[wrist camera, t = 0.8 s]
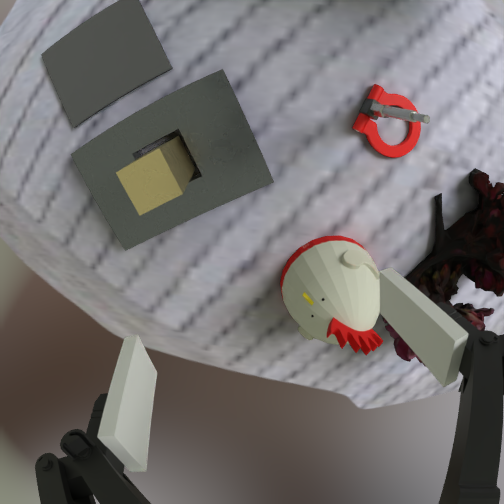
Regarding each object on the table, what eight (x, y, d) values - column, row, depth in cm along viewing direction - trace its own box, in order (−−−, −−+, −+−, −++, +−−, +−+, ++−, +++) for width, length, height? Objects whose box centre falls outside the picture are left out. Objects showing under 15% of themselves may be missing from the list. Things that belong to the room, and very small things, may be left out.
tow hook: (424, 115, 35) (374, 77, 32) (491, 132, 24) (437, 77, 21) (399, 166, 38) (346, 133, 35) (459, 198, 27) (401, 153, 24)
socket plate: (223, 71, 31) (222, 69, 29) (271, 177, 37) (274, 182, 35) (79, 151, 34) (70, 154, 31) (130, 242, 40) (125, 250, 37)
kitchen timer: (309, 219, 40) (348, 280, 27) (387, 255, 44) (440, 316, 30) (264, 303, 46) (277, 382, 32) (340, 326, 49) (371, 397, 35)
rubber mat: (135, -7, 25) (134, -8, 25) (172, 68, 31) (171, 68, 30) (43, 54, 27) (41, 54, 26) (75, 127, 32) (73, 127, 32)
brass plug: (178, 135, 34) (159, 148, 24) (195, 168, 36) (182, 193, 26) (146, 153, 35) (115, 172, 25) (162, 185, 37) (139, 215, 27)
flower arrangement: (460, 150, 37) (533, 178, 24) (512, 215, 42) (567, 251, 29) (348, 314, 48) (383, 384, 35) (418, 344, 53) (453, 400, 40)
